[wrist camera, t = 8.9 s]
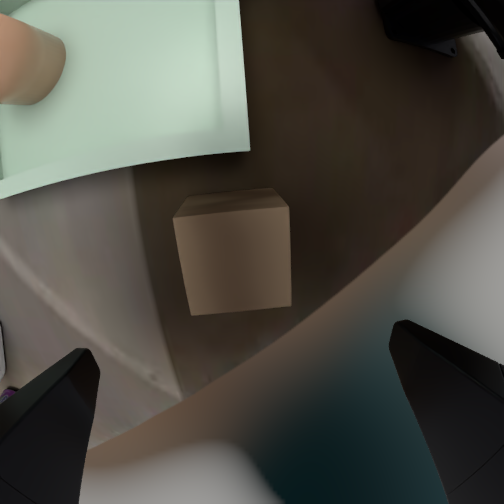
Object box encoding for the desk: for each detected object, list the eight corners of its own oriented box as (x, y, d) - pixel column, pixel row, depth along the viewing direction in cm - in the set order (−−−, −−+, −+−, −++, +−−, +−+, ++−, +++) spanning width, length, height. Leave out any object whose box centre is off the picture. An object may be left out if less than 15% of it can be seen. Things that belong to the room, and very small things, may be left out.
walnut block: (272, 187, 17) (289, 206, 12) (276, 264, 19) (291, 305, 14) (188, 195, 17) (172, 218, 12) (199, 271, 18) (191, 315, 14)
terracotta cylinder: (13, 52, 10) (-52, 40, 4) (68, 24, 10) (5, -9, 4) (11, 115, 12) (-62, 120, 6) (65, 91, 12) (-11, 79, 6)
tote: (228, -60, 10) (230, -101, 5) (244, 147, 16) (250, 150, 11) (8, 13, 9) (-27, 1, 4) (6, 194, 15) (-37, 213, 10)
